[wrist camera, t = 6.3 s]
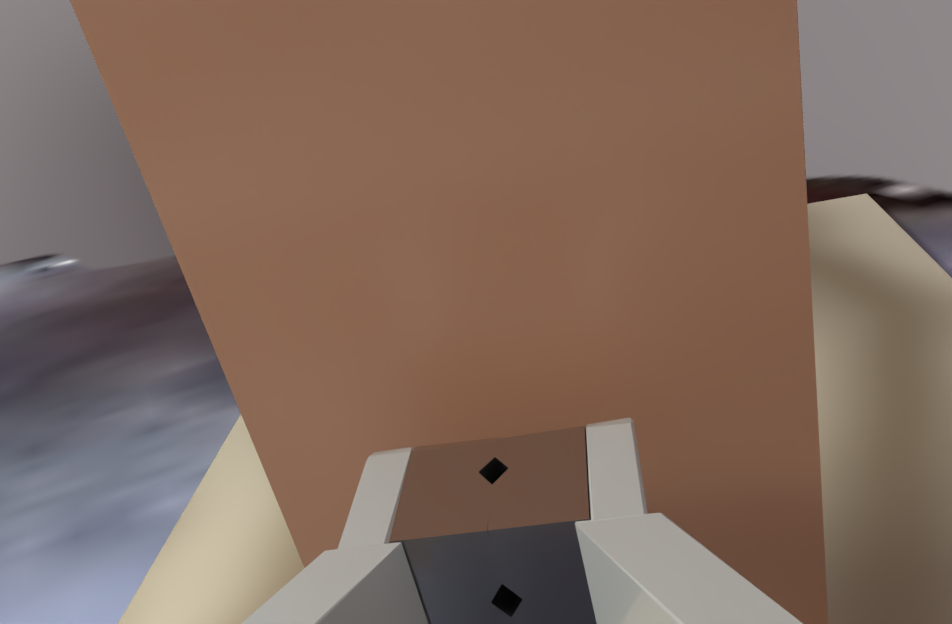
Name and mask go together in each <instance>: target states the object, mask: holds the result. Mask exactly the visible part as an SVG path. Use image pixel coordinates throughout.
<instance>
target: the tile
mask: <svg viewBox="0 0 952 624" xmlns="http://www.w3.org/2000/svg"><path fill="white" fill-rule="evenodd" d="M70 1H71V4H72V6H73V9H74V11H75V14H76V16H77V18H78V21H79V23H80V26H81V28H82V30H83V33H84V35H85V38H86V40H87V42H88V45H89V47H90V50H91V52H92V54H93V57H94V59H95V62H96V64H97V67H98V69H99V72H100V74H101V76H102V79H103V81H104V84H105V86H106V88H107V91H108V93H109V96H110V98H111V101H112V103H113V105H114V108H115V110H116V113H117V115H118V118H119V120H120V122H121V125H122V127H123V129H124V132H125V134H126V137H127V139H128V142H129V144H130V147H131V149H132V151H133V154H134V156H135V159H136V161H137V164H138V166H139V168H140V171H141V173H142V176H143V178H144V180H145V183H146V185H147V188H148V190H149V193H150V195H151V197H152V199H153V202H154V205H155V207H156V210H157V212H158V214H159V217H160V219H161V221H162V224H163V226H164V229H165V231H166V234H167V236H168V238H169V241H170V243H171V246H172V248H173V251H174V253H175V256H176V258H177V260H178V263H179V265H180V268H181V270H182V272H183V275H184V277H185V280H186V282H187V285H188V287H189V289H190V292H191V294H192V297H193V299H194V302H195V304H196V306H197V309H198V311H199V314H200V316H201V318H202V321H203V323H204V326H205V328H206V331H207V333H208V335H209V338H210V340H211V343H212V345H213V347H214V350H215V352H216V355H217V357H218V360H219V362H220V364H221V367H222V369H223V372H224V374H225V377H226V379H227V381H228V384H229V386H230V389H231V391H232V393H233V396H234V398H235V401H236V403H237V406H238V408H239V410H240V413H241V415H242V418H243V420H244V423H245V425H246V427H247V430H248V432H249V435H250V437H251V439H252V442H253V444H254V447H255V449H256V452H257V454H258V456H259V459H260V461H261V464H262V466H263V469H264V471H265V473H266V476H267V478H268V481H269V483H270V485H271V488H272V490H273V493H274V495H275V498H276V500H277V502H278V505H279V507H280V510H281V512H282V515H283V517H284V519H285V522H286V524H287V527H288V529H289V531H290V534H291V536H292V539H293V541H294V544H295V546H296V548H297V551H298V553H299V556H300V558H301V560H302V563H303V565H304V568H306V567H307V566H308V565H309V564H310V563H311V562H312V561H314V560H315V559H316V558H317V557H318V556H319V555H321V554H322V553H323V552H324V551H327V550H335V549H338V546H339V543H340V540H341V537H342V534H343V531H344V527H345V524H346V521H347V518H348V515H349V512H350V509H351V506H352V503H353V500H354V497H355V494H356V491H357V488H358V485H359V482H360V479H361V475H362V472H363V469H364V466H365V463H366V460H367V459H368V457H369V456H370V455H372V454H373V453H374V452H379V451H387V450H394V449H401V448H408V447H412V448H416V447H418V446H426V445H435V444H444V443H453V442H462V441H471V440H480V439H489V438H498V437H500V438H506V437H513V436H519V435H526V434H533V433H539V432H546V431H553V430H559V429H566V428H573V427H579V426H587V424H593V423H599V422H605V421H611V420H616V419H622V418H628V417H630V418H631V419H632V420H633V421H634V427H635V433H636V439H637V445H638V451H639V457H640V463H641V469H642V475H643V481H644V488H645V494H646V500H647V506H648V512H649V514H651V513H663V514H664V515H665V516H667V517H668V518H669V519H670V520H672V521H673V522H674V523H675V524H677V525H678V526H679V527H681V528H682V529H683V530H684V531H686V532H687V533H688V534H689V535H691V536H692V537H693V538H695V539H696V540H697V541H698V542H700V543H701V544H702V545H703V546H705V547H706V548H707V549H709V550H710V551H711V552H712V553H714V554H715V555H716V556H718V557H719V558H720V559H721V560H723V561H724V562H725V563H726V564H728V565H729V566H730V567H732V568H733V569H734V570H735V571H737V572H738V573H739V574H740V575H742V576H743V577H744V578H746V579H747V580H748V581H749V582H751V583H752V584H753V585H754V586H756V587H757V588H758V589H760V590H761V591H762V592H763V593H765V594H766V595H767V596H769V597H770V598H771V599H772V600H774V601H775V602H776V603H777V604H779V605H780V606H781V607H783V608H784V609H785V610H786V611H788V612H789V613H790V614H791V615H793V616H794V617H795V618H797V619H798V620H799V621H800V622H802V623H803V624H829V623H828V603H827V583H826V564H825V544H824V524H823V505H822V485H821V465H820V445H819V426H818V406H817V386H816V367H815V347H814V327H813V307H812V288H811V268H810V248H809V229H808V209H807V189H806V170H805V150H804V131H803V111H802V91H801V72H800V52H799V32H798V12H797V0H70Z"/></svg>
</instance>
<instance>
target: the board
mask: <svg viewBox="0 0 952 624" xmlns="http://www.w3.org/2000/svg"><path fill="white" fill-rule="evenodd" d="M807 209H808V229H809V248H810V268H811V288H812V307H813V327H814V347H815V367H816V386H817V406H818V426H819V445H820V465H821V485H822V505H823V524H824V544H825V564H826V583H827V603H828V623H829V624H952V278H951V277H950V276H949V275H948V274H947V273H946V272H945V271H944V270H943V269H942V268H941V267H940V266H939V265H938V264H937V263H936V262H935V261H934V260H933V259H932V258H931V257H930V256H929V255H928V254H927V253H926V252H925V251H924V250H923V249H922V248H921V247H920V246H919V245H918V244H917V243H916V242H915V241H914V240H913V239H912V238H911V237H910V236H909V235H908V234H907V233H906V232H905V231H904V230H903V229H902V228H901V227H900V226H899V225H898V224H897V223H896V222H895V221H894V220H893V219H892V218H891V217H890V216H889V215H888V214H887V213H886V212H885V211H884V210H883V209H882V208H881V207H880V206H879V205H878V204H877V203H876V202H875V201H874V200H873V199H872V198H871V197H870V196H869V195H868V194H862V195H856V196H850V197H844V198H838V199H833V200H827V201H821V202H815V203H810V204H807ZM303 569H304V565H303V563H302V560H301V558H300V556H299V553H298V551H297V548H296V546H295V544H294V541H293V539H292V536H291V534H290V531H289V529H288V527H287V524H286V522H285V519H284V517H283V515H282V512H281V510H280V507H279V505H278V502H277V500H276V498H275V495H274V493H273V490H272V488H271V485H270V483H269V481H268V478H267V476H266V473H265V471H264V469H263V466H262V464H261V461H260V459H259V456H258V454H257V452H256V449H255V447H254V444H253V442H252V439H251V437H250V435H249V432H248V430H247V427H246V425H245V423H244V420H243V418H242V415H240V416H239V418H238V420H237V421H236V423H235V425H234V427H233V428H232V430H231V432H230V433H229V435H228V437H227V438H226V440H225V442H224V444H223V445H222V447H221V449H220V450H219V452H218V454H217V456H216V457H215V459H214V461H213V462H212V464H211V466H210V467H209V469H208V471H207V473H206V474H205V476H204V478H203V479H202V481H201V483H200V485H199V486H198V488H197V490H196V491H195V493H194V495H193V496H192V498H191V500H190V502H189V503H188V505H187V507H186V508H185V510H184V512H183V514H182V515H181V517H180V519H179V520H178V522H177V524H176V525H175V527H174V529H173V531H172V532H171V534H170V536H169V537H168V539H167V541H166V543H165V544H164V546H163V548H162V549H161V551H160V553H159V554H158V556H157V558H156V560H155V561H154V563H153V565H152V566H151V568H150V570H149V572H148V573H147V575H146V577H145V578H144V580H143V582H142V583H141V585H140V587H139V589H138V590H137V592H136V594H135V595H134V597H133V599H132V601H131V602H130V604H129V606H128V607H127V609H126V611H125V612H124V614H123V616H122V618H121V619H120V621H119V623H118V624H241V623H242V622H243V621H245V620H246V619H247V618H248V617H249V616H250V615H251V614H253V613H254V612H255V611H256V610H257V609H258V608H260V607H261V606H262V605H263V604H264V603H265V602H266V601H268V600H269V599H270V598H271V597H272V596H273V595H274V594H276V593H277V592H278V591H279V590H280V589H281V588H283V587H284V586H285V585H286V584H287V583H288V582H289V581H291V580H292V579H293V578H294V577H295V576H296V575H298V574H299V573H300V572H301V571H302V570H303Z"/></svg>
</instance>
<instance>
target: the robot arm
mask: <svg viewBox="0 0 952 624" xmlns="http://www.w3.org/2000/svg"><path fill="white" fill-rule="evenodd" d="M241 624H803V623H802V622H800V621H799V620H798V619H797V618H795V617H794V616H793V615H791V614H790V613H789V612H788V611H786V610H785V609H784V608H783V607H781V606H780V605H779V604H777V603H776V602H775V601H774V600H772V599H771V598H770V597H769V596H767V595H766V594H765V593H763V592H762V591H761V590H760V589H758V588H757V587H756V586H754V585H753V584H752V583H751V582H749V581H748V580H747V579H746V578H744V577H743V576H742V575H740V574H739V573H738V572H737V571H735V570H734V569H733V568H732V567H730V566H729V565H728V564H726V563H725V562H724V561H723V560H721V559H720V558H719V557H718V556H716V555H715V554H714V553H712V552H711V551H710V550H709V549H707V548H706V547H705V546H703V545H702V544H701V543H700V542H698V541H697V540H696V539H695V538H693V537H692V536H691V535H689V534H688V533H687V532H686V531H684V530H683V529H682V528H681V527H679V526H678V525H677V524H675V523H674V522H673V521H672V520H670V519H669V518H668V517H667V516H665V515H664V514H663V513H651V514H649V512H648V506H647V500H646V494H645V488H644V481H643V475H642V469H641V463H640V457H639V451H638V445H637V439H636V433H635V427H634V421H633V420H632V419H631V418H630V417H628V418H622V419H616V420H611V421H605V422H599V423H593V424H587V426H579V427H573V428H566V429H559V430H553V431H546V432H539V433H533V434H526V435H519V436H513V437H506V438H500V437H498V438H489V439H480V440H471V441H462V442H453V443H444V444H435V445H426V446H418V447H416V448H412V447H408V448H401V449H394V450H387V451H379V452H374V453H373V454H372V455H370V456H369V457H368V459H367V460H366V463H365V466H364V469H363V472H362V475H361V479H360V482H359V485H358V488H357V491H356V494H355V497H354V500H353V503H352V506H351V509H350V512H349V515H348V518H347V521H346V524H345V527H344V531H343V534H342V537H341V540H340V543H339V546H338V549H335V550H327V551H324V552H323V553H322V554H321V555H319V556H318V557H317V558H316V559H315V560H314V561H312V562H311V563H310V564H309V565H308V566H307V567H306V568H304V569H303V570H302V571H301V572H300V573H299V574H298V575H296V576H295V577H294V578H293V579H292V580H291V581H289V582H288V583H287V584H286V585H285V586H284V587H283V588H281V589H280V590H279V591H278V592H277V593H276V594H274V595H273V596H272V597H271V598H270V599H269V600H268V601H266V602H265V603H264V604H263V605H262V606H261V607H260V608H258V609H257V610H256V611H255V612H254V613H253V614H251V615H250V616H249V617H248V618H247V619H246V620H245V621H243V622H242V623H241Z"/></svg>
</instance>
